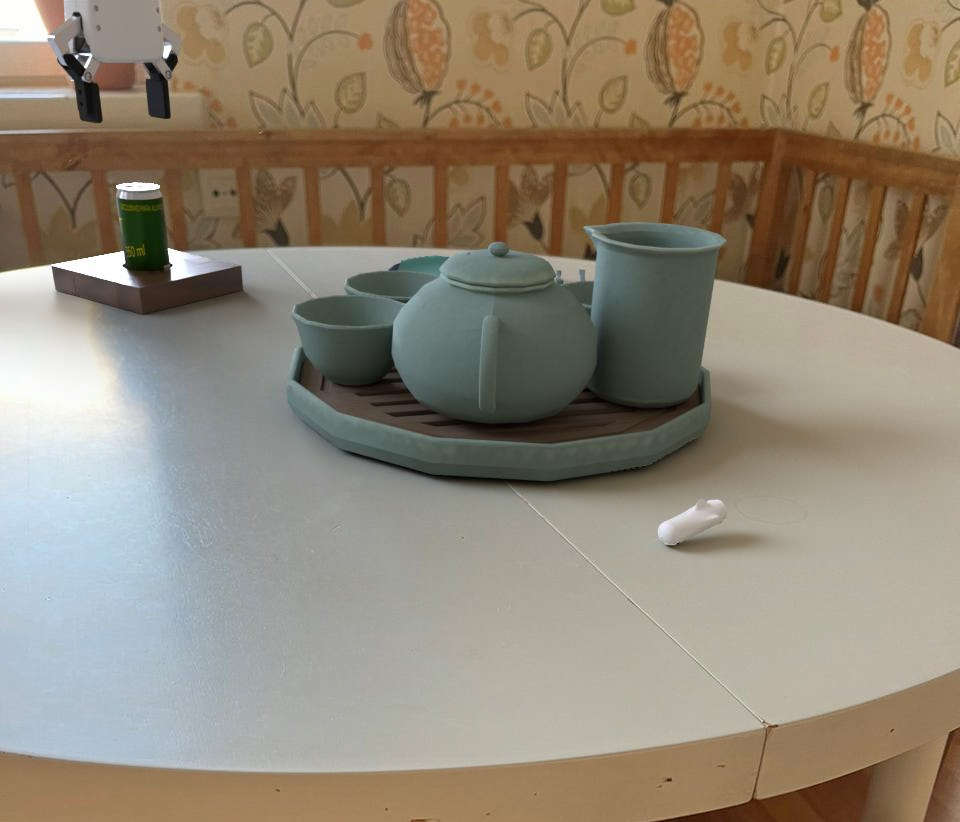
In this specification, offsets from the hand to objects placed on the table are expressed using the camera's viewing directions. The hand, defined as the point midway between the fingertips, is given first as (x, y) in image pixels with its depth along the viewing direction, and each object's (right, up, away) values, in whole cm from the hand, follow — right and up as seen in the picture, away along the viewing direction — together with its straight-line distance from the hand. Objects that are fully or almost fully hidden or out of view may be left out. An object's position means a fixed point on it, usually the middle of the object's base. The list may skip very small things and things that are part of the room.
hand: (126, 119), depth 120 cm
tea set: (+42, -37, -20) cm, 60 cm away
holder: (-1, -16, +10) cm, 19 cm away
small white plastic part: (+56, -53, -43) cm, 88 cm away
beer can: (0, -16, +10) cm, 19 cm away
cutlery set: (+43, -14, +18) cm, 49 cm away
